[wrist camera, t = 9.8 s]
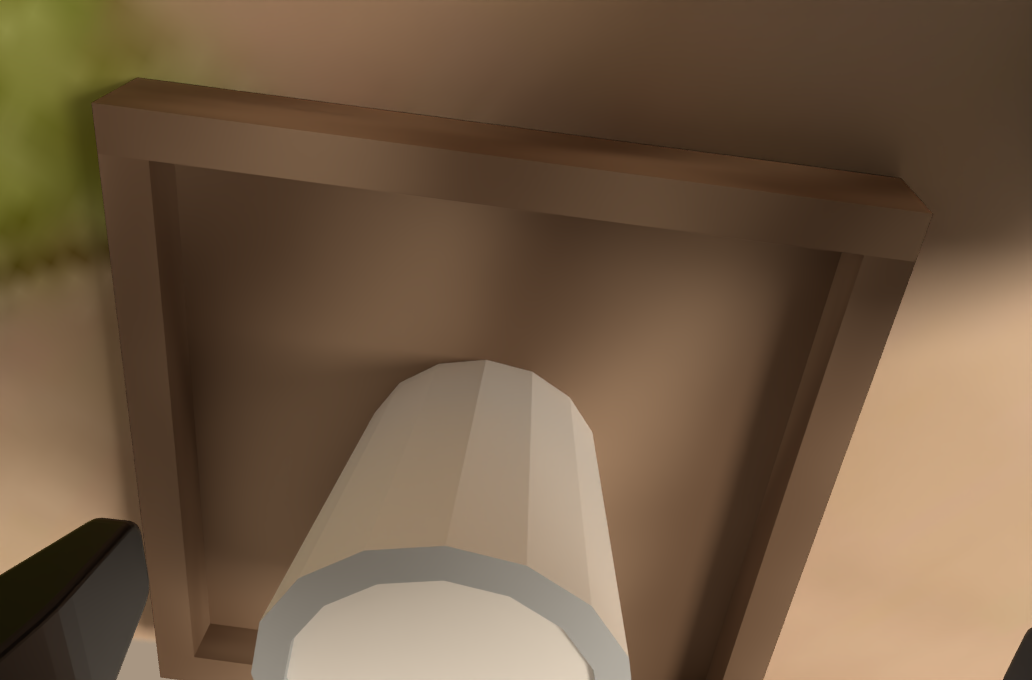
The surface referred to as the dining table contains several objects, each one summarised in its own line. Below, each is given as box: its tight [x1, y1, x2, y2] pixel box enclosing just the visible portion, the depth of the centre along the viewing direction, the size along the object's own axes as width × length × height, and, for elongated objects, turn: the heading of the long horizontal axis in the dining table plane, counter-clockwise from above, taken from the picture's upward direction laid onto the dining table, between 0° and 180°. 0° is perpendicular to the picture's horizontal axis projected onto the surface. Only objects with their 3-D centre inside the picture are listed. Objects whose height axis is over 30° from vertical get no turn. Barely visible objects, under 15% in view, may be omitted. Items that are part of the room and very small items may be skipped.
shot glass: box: [251, 360, 631, 680], centre depth 19 cm, size 7×7×7 cm
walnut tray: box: [92, 78, 933, 680], centre depth 22 cm, size 16×16×2 cm
